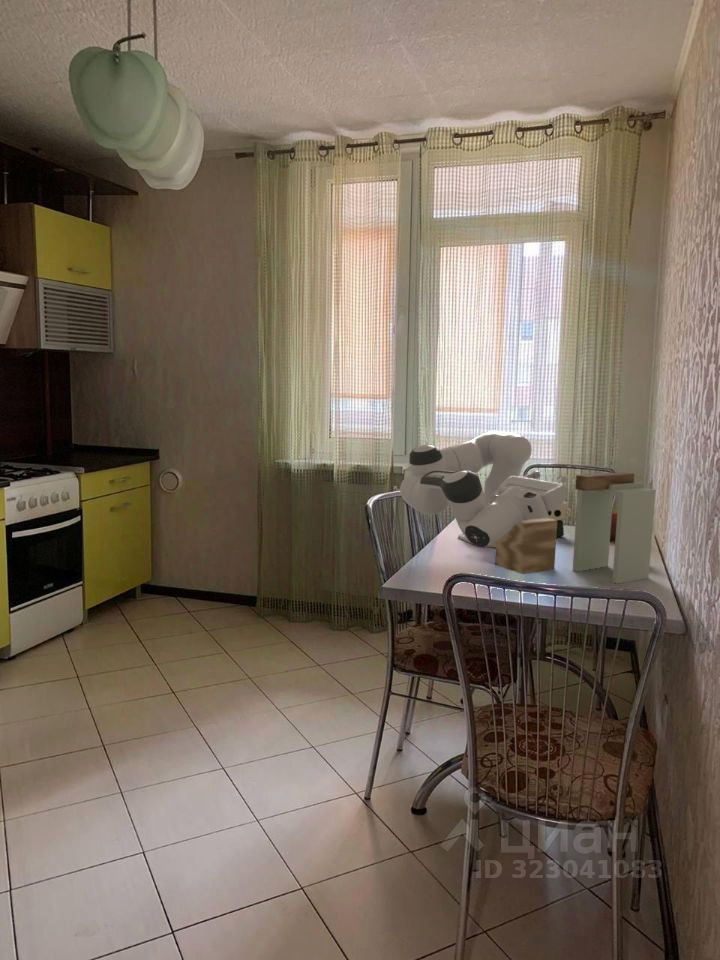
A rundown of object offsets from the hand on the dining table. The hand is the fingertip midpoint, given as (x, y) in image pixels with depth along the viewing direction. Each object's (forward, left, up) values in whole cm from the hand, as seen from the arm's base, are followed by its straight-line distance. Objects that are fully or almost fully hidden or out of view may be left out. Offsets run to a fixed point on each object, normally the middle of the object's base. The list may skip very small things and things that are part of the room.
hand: (550, 475), depth 194 cm
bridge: (0, +28, -31) cm, 41 cm away
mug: (-33, +70, -31) cm, 83 cm away
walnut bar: (0, +23, -5) cm, 23 cm away
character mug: (-46, +54, -31) cm, 77 cm away
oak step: (-18, +11, -31) cm, 37 cm away
